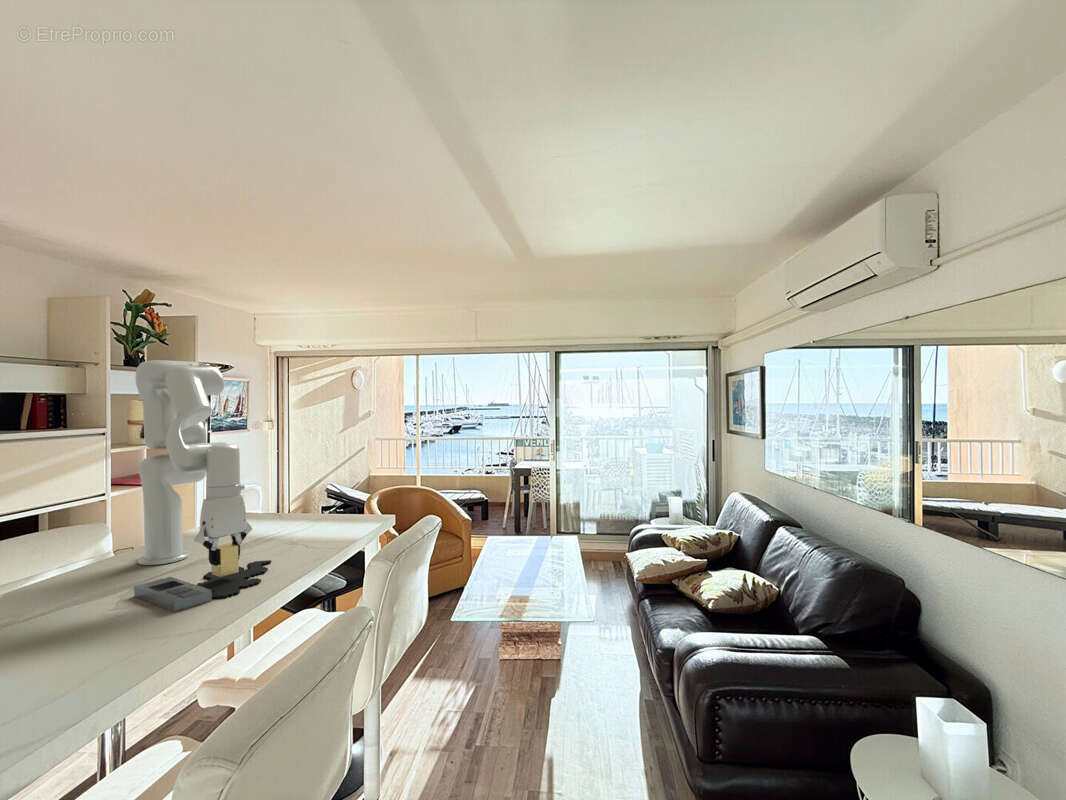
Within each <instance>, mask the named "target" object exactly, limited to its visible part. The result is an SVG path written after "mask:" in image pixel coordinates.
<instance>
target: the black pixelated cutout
mask: <svg viewBox="0 0 1066 800" xmlns="http://www.w3.org/2000/svg"><path fill="white" fill-rule="evenodd" d="M271 563H272V560H271V559H269V560H257V561H253V562H248V563H247V565H246V566H247V568H246V569H245V567H242V566H239V572H237V573H233V574H230V575H226V576H222V577H220V576H216V575H213V574H212V571H208V572H207V573H206V574H204V575H203V576H202V578H203V580H204V581H203V582H199V583H196V585H198V586H201V587H204V588H207V589H210V590H212V601H213V600H223V599H224V600H225V599H228V598H230V597H231V598H232V597H234V596H238V595H239V594H241V589H249V588H251V587H252V588H253V587H255V586H259V585H260V583H262V578H258V577H256V576H260V575H265V574H266V573H267V572H268V571H269V567H266V566H267V565H271ZM205 580H206V581H205Z"/></svg>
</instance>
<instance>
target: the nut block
mask: <svg viewBox="0 0 1066 800" xmlns="http://www.w3.org/2000/svg"><path fill="white" fill-rule="evenodd" d="M217 550H219V565H217V566H215V565H211V572H212V574H213V575H216V576H220V577H222V576H226V575H230V574H233V573H237V572H239V567H240V565H239V560H238V545H235V544H232V543H229V542H227V543H224V544H219V545H217Z"/></svg>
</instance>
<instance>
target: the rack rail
mask: <svg viewBox="0 0 1066 800" xmlns="http://www.w3.org/2000/svg"><path fill="white" fill-rule="evenodd" d="M133 597H135V598H138V599H139V600H143V601H145V602H148V603H151V604H153V605H155V606H158V607H161V608H163V609H165V610H168V611H169V612H173V613H176V612H180V611H184V610H186V609H189V608H193V607H196V606H199V605H203V604H206V603H209V602H212V601H213V600H212V590H210V589H207V588H204V587H201V586H198V585H197V584H193V583H191V582H188V581H185V580H181V579H178V578H176V577H172V576H168V577H165V578H161V579H156V580H152V581H148V582H145V583H140V584H138V585H137V584H136V585H134V586H133Z"/></svg>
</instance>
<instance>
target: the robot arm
mask: <svg viewBox="0 0 1066 800" xmlns="http://www.w3.org/2000/svg"><path fill="white" fill-rule="evenodd" d="M135 384H136V388H137V392H138V394H139V396H140V399H141V402H142V409H143V412H142V413H143V436H144V437H143V438H144V442H145V443H144V444H145V446H146V447H147V448H148V449H150V450H153V451H154V450H156V451H161V450H164V451H166V450H167V453H163V454H155V455H154V454H153V455H150V456H147V457H146V458H144V459H143V460H142V461H141V462H140V464H139V466H138V473H139V479H140V483H141V489H142V497H143V498H142V499H143V536H144V537H143V543H144V545H143V548H144V549H143V550H144V553H143V554H144V555H143V556H140V557H139V558H138V560H137V563H138V564H139V565H140V566H141V565H142V566H157V565H164V564H171V563H175V562H179V561H182V560H184V559H186V558H188V557H189V556H190V555H189V554H190V552H189V551H188V550H184V549H183V548H184V547H183V504H182V503H183V502H182V501H183V500H182V497H181V496H180V494H179V493H178V492H177V490H175V489H174V488H173V486H177V485H184V484H192V483H197V482H201V481H203V480H204V479H205V478H206V498H204V499H203V500H202V505H201V509H200V519H199V531H198V533H197V534H196V536H195V537H194V540H193V541H194V542H196V543H197V544H200V545H202V546H203V547H205V548H206V550H208V562H209V564H210V565H211V566H212V565H215V566H217V565H219V550H217V546H218V543H219V539H220V538H225V537H228V536H230V539H231V544H235V545H238V561H239V560H240V555H241V545H242V544H243V541H244V540H245V539H246V537H247V535H248V534H249V533H250V532H251V531H252V530H253V527H252V526H251V525H250V523H248V521H247V511H246V505H245V500H244V496H243V495H242V494H241V492H242V491H243V490H245V485H244V484H241V470H240V469H241V463H240V462H241V461H240V457H241V456H240V453H241V451H240V447H239V446H237V444H228V443H226V442H219V441H218V442H207V430H206V426H205V425H204V421H206V420H207V419H208V418H210V416H211V415H212V413H213V410H212V406H211V403H210V400H209V398H208V397H209V396H218V395H220V394H221V393H222V392H223V391H224V388H225V379H224V376H223V374H222V372H221V371H220V370H219V369H218V368H217V367H214V366H213V365H209V364H206V363H204V362H200V361H188V360H187V361H185V360H184V361H183V360H169V359H168V360H166V359H153V360H146V361H143V362H141V363H140V364H139V365H138V366H137V367H136V370H135ZM207 537H208V538H207ZM205 538H207V539H205Z"/></svg>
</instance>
